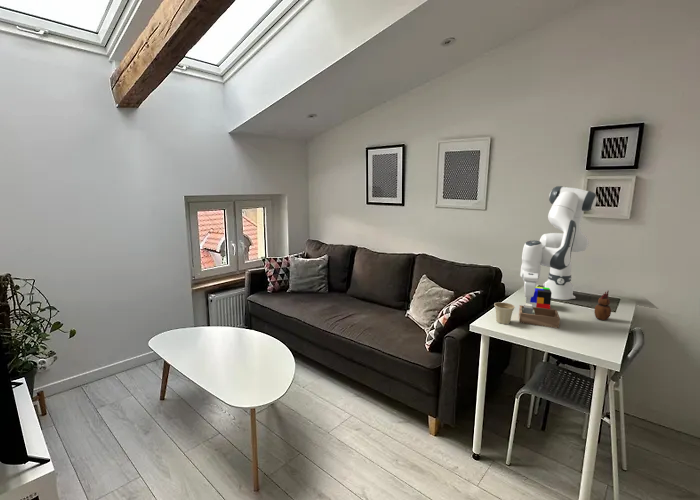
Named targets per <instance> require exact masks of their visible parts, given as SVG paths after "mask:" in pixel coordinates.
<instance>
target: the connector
mask: <svg viewBox="0 0 700 500" xmlns="http://www.w3.org/2000/svg"><path fill="white" fill-rule="evenodd" d="M523 306H524V312H523V313H526V314H532V313H533V306H532V304H528V303H525V304H524V305H523Z"/></svg>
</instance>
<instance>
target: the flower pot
mask: <svg viewBox="0 0 700 500" xmlns="http://www.w3.org/2000/svg"><path fill="white" fill-rule="evenodd" d="M493 305H494V309H495V318H496V323H499V324H502V325H509V324H510V323H511V320H512V315H513V311H514V309H515V308H516V307H515V305H514V304H511V303H507V302H501V301H500V302H499V301H498V302H494V304H493Z"/></svg>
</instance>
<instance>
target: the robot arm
mask: <svg viewBox="0 0 700 500" xmlns="http://www.w3.org/2000/svg"><path fill="white" fill-rule="evenodd" d="M548 201H549V203H550V204H552V205H551V207H550V209H549V211H548V214H547V219H548V222H549V223H550V225H551V226H553V227H554V228H555V229H557V230H559V231H561V232H562V233H561V232H548V233H543V234H542V235H541V236H540V239H539V240H535V239H534V240H528V241H526V242H524V245H523V248H522V252H521V266H520V272H519V277H521V278H522V281H523V284H524V285H523V287H524V297H525V304H529V303H530V299H531V297H533V296H534V292H535V288H536V287H537V283H538V282H539V280H540V278H541V270H542V269H541V268H542V267H541V266H543V267H548V268H549V272H548V274H547V275H548V276H547V277H548V278H547V280H546V281H545V282H543V287H545V288H550V290H551V292H552V294H551V299H553V300H554V299H555V300H563V301H565V300H566V301H567V300H573V299H574V300H575V299H576V298H577V297H576V296H575V295H574V294H573V293H574V284H573V283H572V282H571V281H572V266H573V262H572V261H571V259H572V257H571V256H572V253H578V252H584V251H586V250H587V249H588V247H589V246H590V245H589V244H590V242H589V238H588V237H587V236H586V234H584V233H583V232H582V230H581V225H582V224H581V223H582V219H583V215H584V212H589V211H591V210H593V208H594V207H596V205H597V201H598V199H597V194H596V193H595V192H594V191H591V190H585V189H582V188H577V187H569V186H568V187H566V186H562V185H557V186H555V187H553V188H552V189H551V191H550V193H549V195H548Z"/></svg>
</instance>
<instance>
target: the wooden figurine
mask: <svg viewBox="0 0 700 500" xmlns="http://www.w3.org/2000/svg"><path fill="white" fill-rule="evenodd" d="M597 303H598V304H596V305H595V307H594V309H593V310H594V311H593V312H594V313H593V314H594V316H595V318H596V319H597V320H601V321H607V320H608V319H610V317H611V314H612V308H611V306H610V304H611V302H610V299H609V290H607V291H605V292H604V293H603V294H601V297H599V298H598V300H597Z"/></svg>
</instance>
